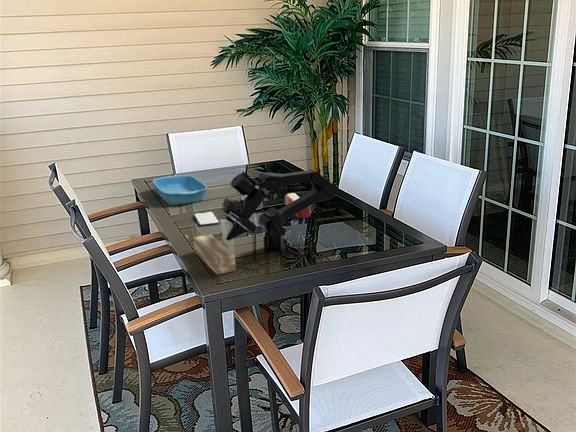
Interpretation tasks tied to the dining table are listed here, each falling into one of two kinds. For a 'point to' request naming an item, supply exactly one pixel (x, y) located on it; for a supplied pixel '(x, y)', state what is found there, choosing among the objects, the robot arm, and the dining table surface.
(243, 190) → the robot arm
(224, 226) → the sage green flanged block
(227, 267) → the beige u-shaped channel
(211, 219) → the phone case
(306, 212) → the snack package
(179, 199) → the casserole dish
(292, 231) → the dining table surface
